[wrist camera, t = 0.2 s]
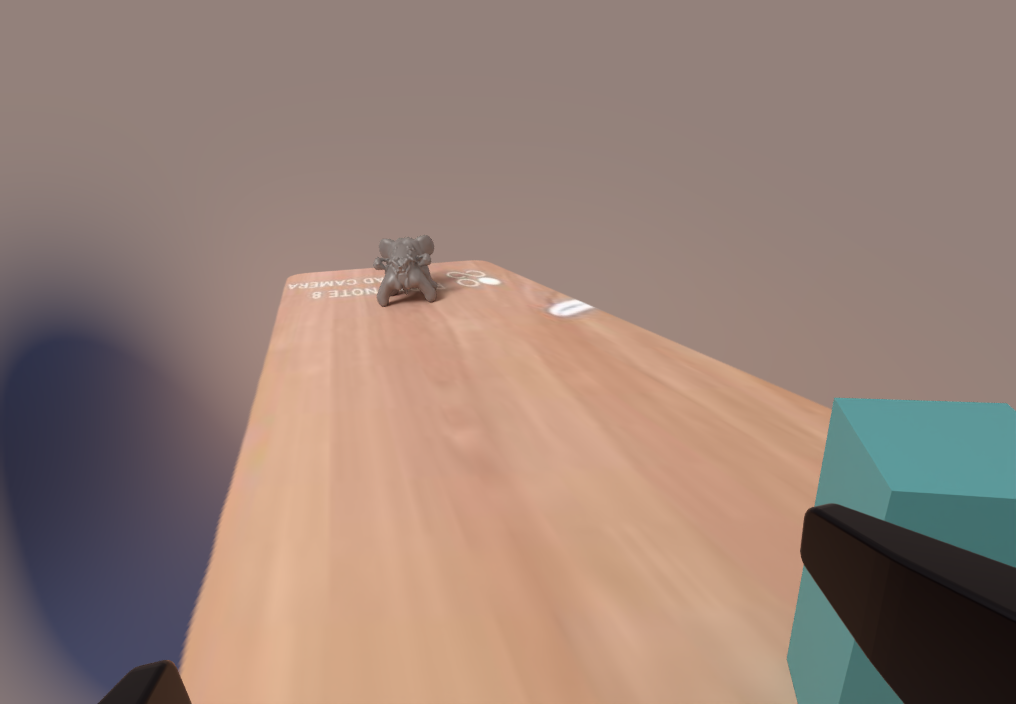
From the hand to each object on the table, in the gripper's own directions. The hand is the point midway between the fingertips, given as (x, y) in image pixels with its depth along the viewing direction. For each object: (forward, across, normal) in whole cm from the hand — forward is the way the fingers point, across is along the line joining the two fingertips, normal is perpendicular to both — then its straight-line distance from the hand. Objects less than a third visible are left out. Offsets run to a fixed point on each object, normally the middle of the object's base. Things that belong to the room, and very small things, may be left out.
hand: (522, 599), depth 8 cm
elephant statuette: (+70, 0, +13) cm, 72 cm away
